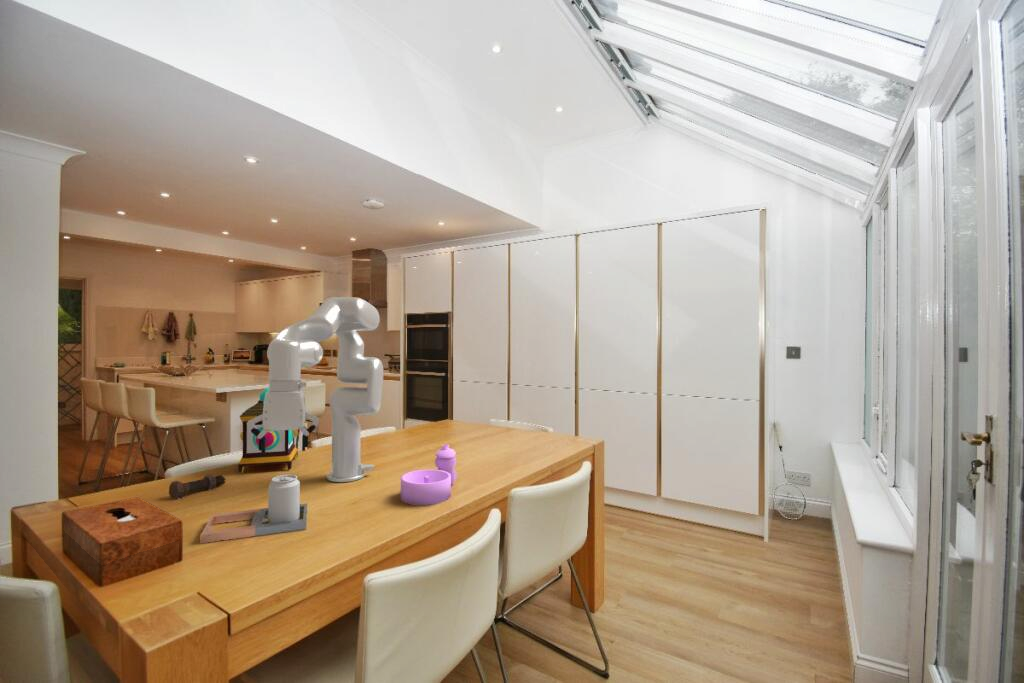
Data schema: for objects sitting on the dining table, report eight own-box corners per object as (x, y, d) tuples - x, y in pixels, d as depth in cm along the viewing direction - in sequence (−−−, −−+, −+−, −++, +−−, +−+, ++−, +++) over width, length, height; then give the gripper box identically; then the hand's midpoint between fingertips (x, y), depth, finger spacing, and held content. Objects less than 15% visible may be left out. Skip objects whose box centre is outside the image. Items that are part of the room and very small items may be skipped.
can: (268, 530, 119) (268, 483, 119) (268, 519, 125) (268, 475, 125) (300, 525, 122) (300, 479, 122) (298, 515, 129) (299, 471, 129)
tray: (307, 510, 132) (307, 503, 132) (306, 529, 120) (306, 521, 119) (212, 521, 124) (212, 514, 124) (200, 543, 111) (200, 535, 111)
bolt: (224, 491, 154) (174, 504, 140) (216, 481, 156) (166, 493, 142) (230, 477, 152) (180, 488, 139) (222, 467, 154) (172, 478, 141)
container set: (436, 508, 136) (437, 463, 135) (391, 502, 140) (391, 458, 140) (470, 483, 159) (470, 444, 159) (430, 478, 164) (430, 441, 164)
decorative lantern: (246, 461, 183) (247, 385, 183) (301, 457, 189) (302, 384, 189) (232, 475, 164) (233, 390, 164) (294, 471, 170) (294, 389, 170)
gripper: (320, 385, 130) (319, 446, 130) (249, 386, 124) (248, 451, 124) (320, 387, 123) (319, 452, 123) (245, 389, 117) (244, 457, 117)
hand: (283, 451), depth 123 cm, fingers open, 9 cm apart
